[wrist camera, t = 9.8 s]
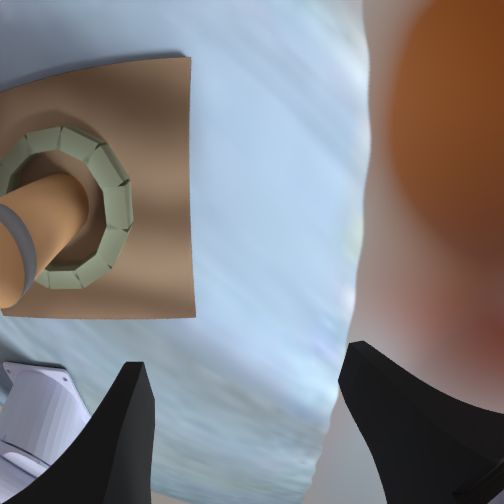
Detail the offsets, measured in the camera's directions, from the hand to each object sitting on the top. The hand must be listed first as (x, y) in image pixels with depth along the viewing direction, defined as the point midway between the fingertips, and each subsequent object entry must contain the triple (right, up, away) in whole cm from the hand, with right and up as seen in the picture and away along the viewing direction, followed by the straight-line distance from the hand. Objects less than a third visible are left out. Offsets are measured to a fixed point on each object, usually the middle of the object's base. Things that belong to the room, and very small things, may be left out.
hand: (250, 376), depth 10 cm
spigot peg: (-11, +7, +5) cm, 14 cm away
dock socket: (-12, +7, +6) cm, 15 cm away
